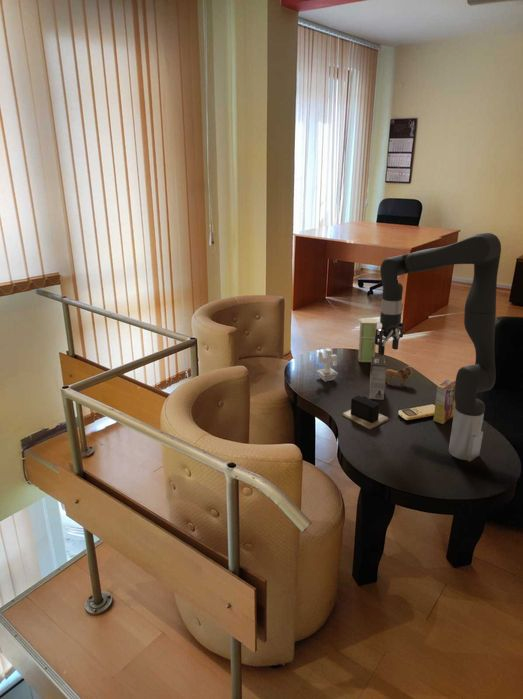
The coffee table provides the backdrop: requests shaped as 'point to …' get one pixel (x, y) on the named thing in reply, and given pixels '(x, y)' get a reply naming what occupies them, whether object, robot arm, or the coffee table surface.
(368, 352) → the toy refrigerator
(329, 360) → the figurine
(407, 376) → the lion figurine
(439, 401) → the candy box
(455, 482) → the coffee table surface
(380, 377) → the coffee box
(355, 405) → the digital camera
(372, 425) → the birch board
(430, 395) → the coffee table surface
